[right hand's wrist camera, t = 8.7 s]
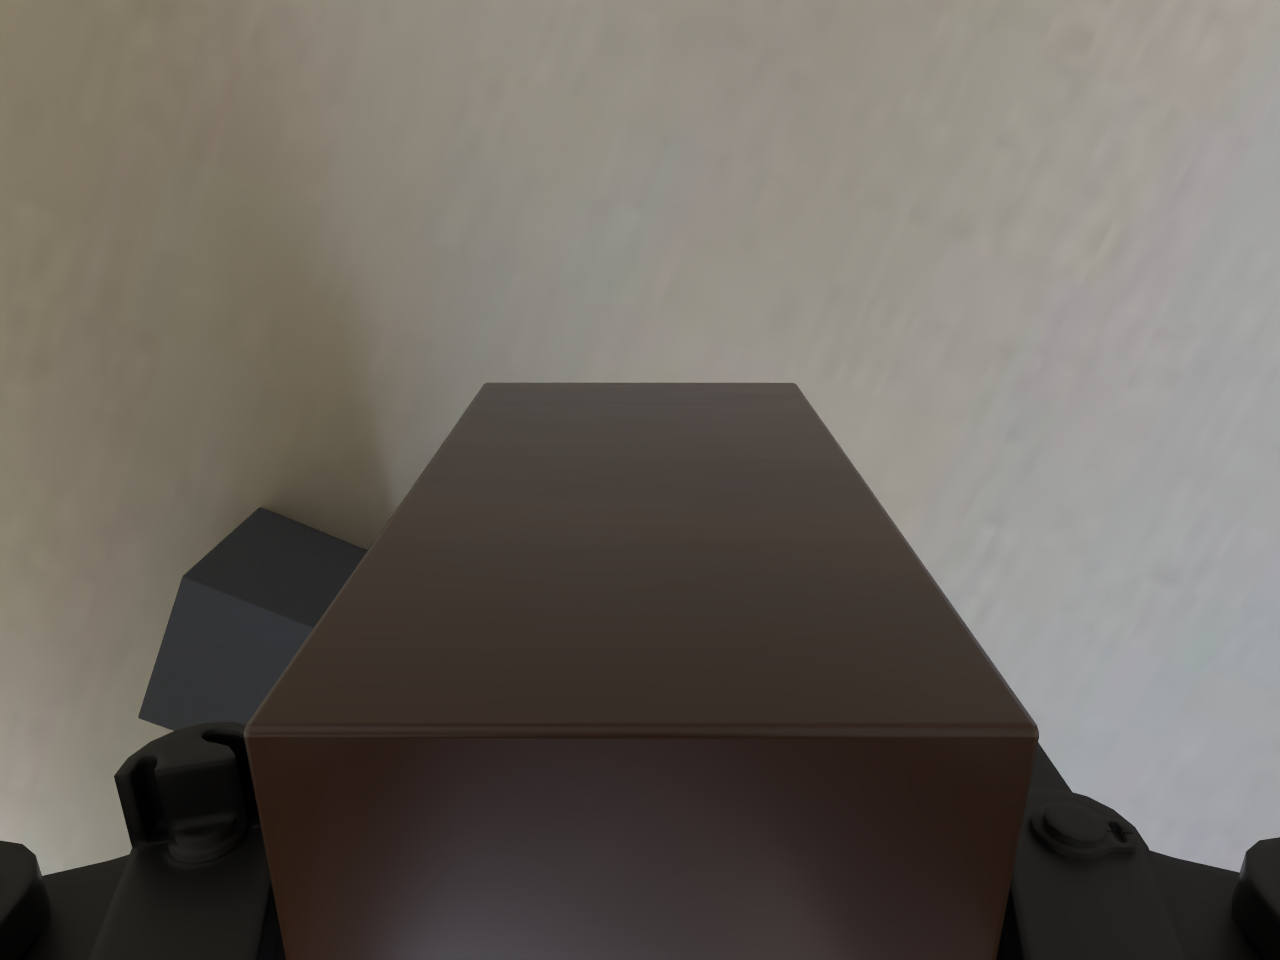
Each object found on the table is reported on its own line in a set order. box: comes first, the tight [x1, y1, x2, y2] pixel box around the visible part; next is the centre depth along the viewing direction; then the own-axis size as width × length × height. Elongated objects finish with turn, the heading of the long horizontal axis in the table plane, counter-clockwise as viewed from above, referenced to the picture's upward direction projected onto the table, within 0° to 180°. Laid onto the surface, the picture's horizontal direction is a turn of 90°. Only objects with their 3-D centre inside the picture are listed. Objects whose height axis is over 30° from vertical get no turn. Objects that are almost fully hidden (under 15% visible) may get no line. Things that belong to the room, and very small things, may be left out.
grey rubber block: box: [139, 508, 367, 731], centre depth 27 cm, size 5×5×5 cm
